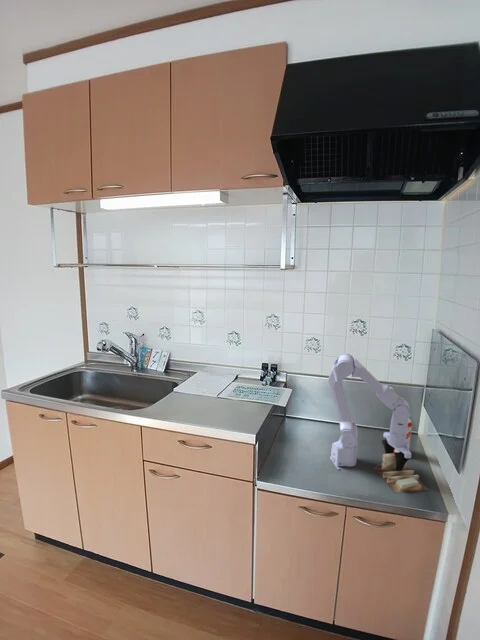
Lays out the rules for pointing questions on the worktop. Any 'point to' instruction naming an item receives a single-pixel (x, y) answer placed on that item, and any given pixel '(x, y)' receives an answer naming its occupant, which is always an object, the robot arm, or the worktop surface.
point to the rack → (397, 477)
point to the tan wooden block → (389, 461)
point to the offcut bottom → (409, 487)
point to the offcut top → (407, 482)
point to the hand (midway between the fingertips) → (394, 464)
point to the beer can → (407, 435)
